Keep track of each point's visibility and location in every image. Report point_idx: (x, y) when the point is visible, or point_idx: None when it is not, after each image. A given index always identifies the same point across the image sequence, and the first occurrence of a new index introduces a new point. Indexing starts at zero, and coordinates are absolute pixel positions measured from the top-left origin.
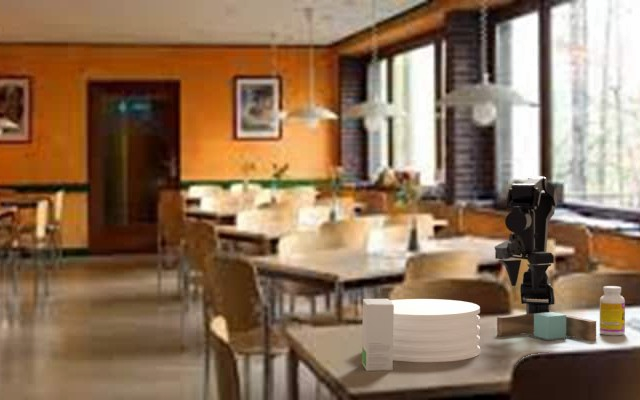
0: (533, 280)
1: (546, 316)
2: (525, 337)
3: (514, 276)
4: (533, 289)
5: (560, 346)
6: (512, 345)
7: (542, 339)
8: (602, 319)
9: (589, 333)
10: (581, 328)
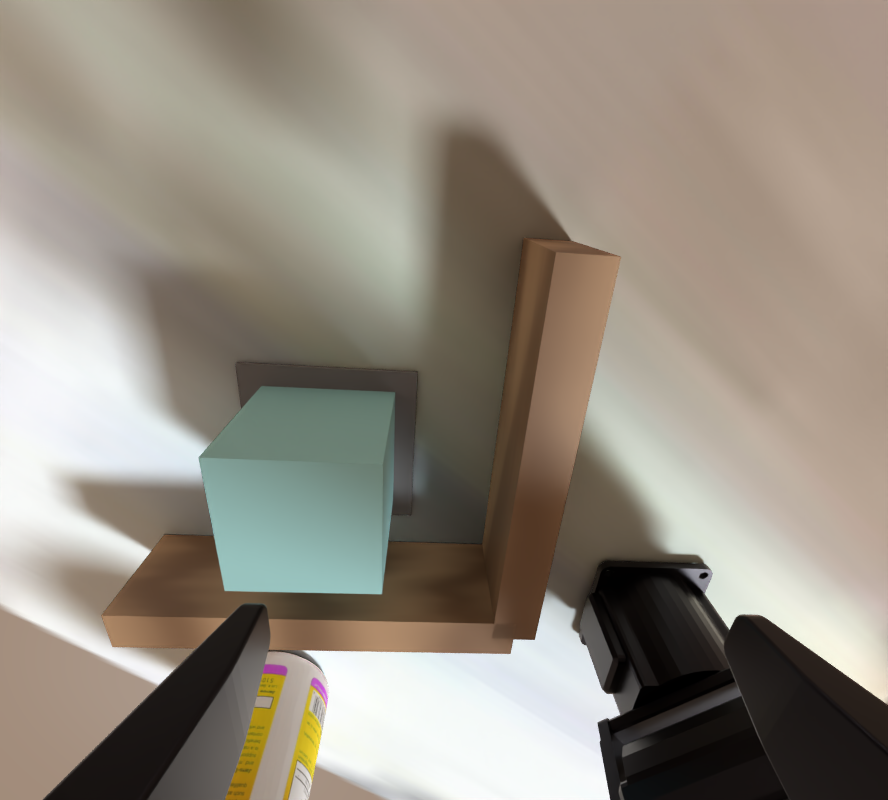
0: (113, 742)
1: (222, 458)
2: (406, 338)
3: (841, 797)
4: (253, 603)
5: (42, 304)
6: (178, 28)
7: (287, 365)
8: (252, 719)
9: (150, 560)
10: (207, 575)
